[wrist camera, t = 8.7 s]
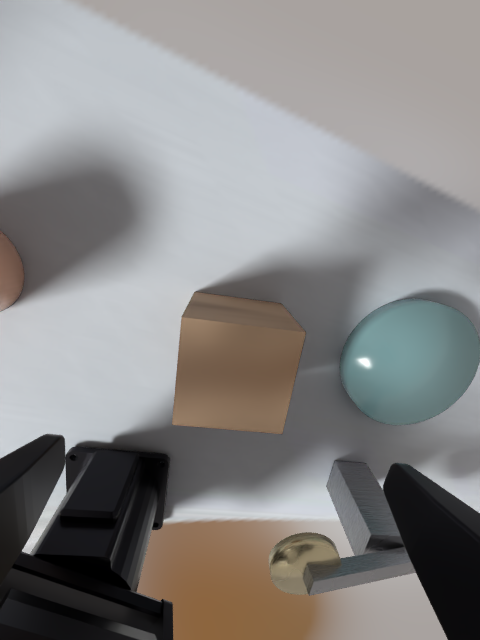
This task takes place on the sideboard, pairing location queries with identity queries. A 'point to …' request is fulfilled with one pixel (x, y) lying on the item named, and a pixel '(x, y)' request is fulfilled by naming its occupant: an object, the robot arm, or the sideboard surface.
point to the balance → (362, 532)
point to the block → (236, 364)
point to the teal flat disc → (409, 361)
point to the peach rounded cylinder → (9, 273)
